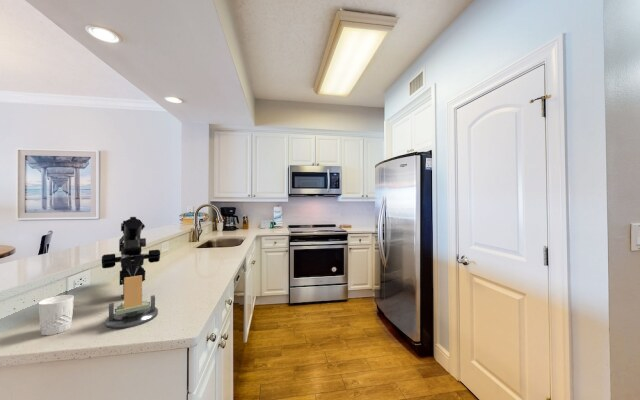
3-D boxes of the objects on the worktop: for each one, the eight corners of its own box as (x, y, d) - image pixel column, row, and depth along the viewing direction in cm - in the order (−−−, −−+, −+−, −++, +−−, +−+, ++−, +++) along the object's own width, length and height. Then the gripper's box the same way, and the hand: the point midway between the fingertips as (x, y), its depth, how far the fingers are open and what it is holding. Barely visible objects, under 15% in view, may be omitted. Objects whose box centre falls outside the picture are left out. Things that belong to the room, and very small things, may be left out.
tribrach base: (106, 316, 90) (106, 298, 90) (156, 306, 99) (156, 289, 99) (103, 334, 78) (103, 313, 78) (159, 320, 87) (160, 301, 87)
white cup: (55, 324, 84) (55, 295, 84) (80, 323, 85) (80, 294, 85) (30, 337, 76) (30, 304, 76) (57, 336, 77) (58, 303, 77)
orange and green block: (115, 310, 91) (115, 278, 93) (148, 303, 97) (148, 273, 99) (113, 315, 80) (114, 279, 82) (151, 307, 86) (151, 274, 88)
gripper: (102, 233, 95) (99, 268, 86) (160, 230, 106) (162, 261, 98) (103, 251, 101) (101, 285, 92) (158, 246, 113) (160, 276, 104)
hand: (132, 276), depth 96 cm, fingers closed
